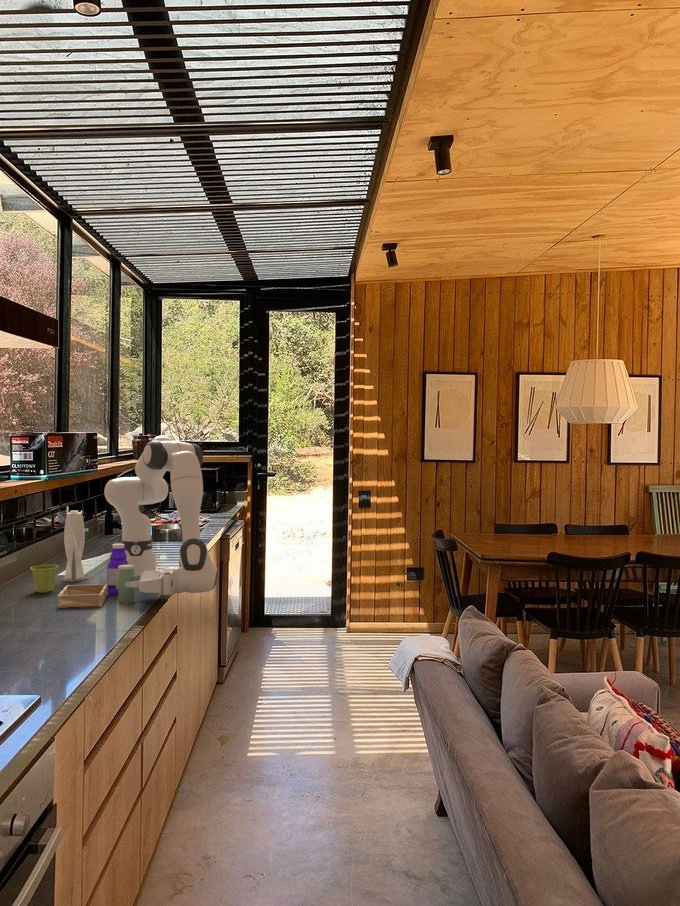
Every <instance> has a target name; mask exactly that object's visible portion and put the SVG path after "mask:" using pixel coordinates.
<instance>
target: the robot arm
mask: <svg viewBox="0 0 680 906" xmlns="http://www.w3.org/2000/svg"><path fill="white" fill-rule="evenodd" d="M203 463H204V452H203V450H202V447H200V446H199V445H198V444H196V443H192V442H184V441H179V440H173V439H172V438H171V437H169V436H166V435H158V436H155V437H154V438H153V439H152V440H150V441H148V442H147V443H146V444H145V445H144V448H143V452H142V453H141V455H140V457H139V458H138V460H137V461H136V464H135V467H134V471H135V472H134V473H135V474H136V476H130V477H129V476H125V477H123V476H122V477H117V478H113V479H109V480H108V481H107V483H106V484H105V487H104V491H103V493H104V497H105V500H106V501H107V502H108V504H109V505H111V506H113V507H114V509H115V510H116V511H117V513H118V515H119V517H120V521H121V533H122V535H121V536H122V539H121V542H120V544H124V546H125V554H126V555H127V558H126V560H127V562H128V564H129V565H134V581H126V582H125V587H132V588H134V589H138V591H139V592H140V593H145V594H146V593H147V594H162V595H163V596H168V595H171V594H181V593H189V594H197V593H207V592H208V593H209V592H211V591H213V590H214V589H215V588H216V586H217V581H218V576H219V569H218V568H217V567H216V565H215V564H214V562H213V560H212V558H211V556H210V553H209V551H208V548H207V545H206V543H205V542H204V541H202V540H201V539H202V538H201V528H200V514H201V513H200V512H201V507H202V501H203V496H204V482H203V481H204V480H203V473H202V469H201V466H202V464H203ZM166 472H169V473H170V476H169V477H170V489H171V493H172V494H171V495H172V498H173V502H174V504H175V507H176V510H177V512H178V516H179V520H180V526H181V535H182V537H181V538H182V544H181V546H180V548H179V551H178V552H179V558H178V559H179V560H178V564H179V566H164V567H163V570H160V569H159V568H158V567H157V566H158V563H157V554H156V552H154V551H153V539H152V521H151V519H150V517H148V515H146V514H145V513H142V512H141V511H140V508H139V506H141V505H154V504H157V503H160V502H164V501H165V499H166V498H167V496H168V494H169V485H168V483H167V482H166V480H165V479H164V478H163V477H164V476H165V474H166Z"/></svg>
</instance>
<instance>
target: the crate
mask: <svg viewBox="0 0 680 906" xmlns="http://www.w3.org/2000/svg"><path fill="white" fill-rule="evenodd" d="M107 595H109V593H108V584H107V583H105V584H102V583H99V584H97V583H95V584H67V585H66V584H65V586H64V588H63V589H62V590H61V591H60V592H59V593H58V594H57V609H70V608H69V607H79V608H100V607H101V608H102V607H103V605H104V604H105V602H106V600H107V598H106V597H108V596H107ZM105 599H106V600H105ZM104 601H105V602H104ZM103 603H104V604H103Z"/></svg>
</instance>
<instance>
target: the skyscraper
mask: <svg viewBox="0 0 680 906" xmlns="http://www.w3.org/2000/svg"><path fill="white" fill-rule="evenodd" d="M63 530H64V533H63V534H64V535H63V536H64V537H63V538H64V539H63V541H64V542H63V543H64V549H65V555H66V559H67V561H66V566H65V567H66V568H65V573H64V577H63V579H60V581H61V582H66V581H72V582H71V583H76V582H75V581H79V580H83V581H85V580H84V579H89V578H87V577H85V572H84V568H83V566H84V565H83V562H82V556H83V553H84V547H85V542H86V541H85V538H86V537H85V536H86V533H85V532H86V531H85V530H86V529H85V523H84V517H83V510H80V511H79V510H70V511H69V506H66V516H65V521H64V529H63ZM79 582H80V581H79Z"/></svg>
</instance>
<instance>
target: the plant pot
mask: <svg viewBox="0 0 680 906" xmlns="http://www.w3.org/2000/svg"><path fill="white" fill-rule="evenodd" d="M58 568H59V565H57V564H39V565H34V566H31V567H30V568H29V569H30V570H31V574H32V578H33V583H34V590H35V593H42V594H43V593H49V592H53V591H54V590H55V583H56V577H57V576H56V575H57V571H58Z"/></svg>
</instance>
